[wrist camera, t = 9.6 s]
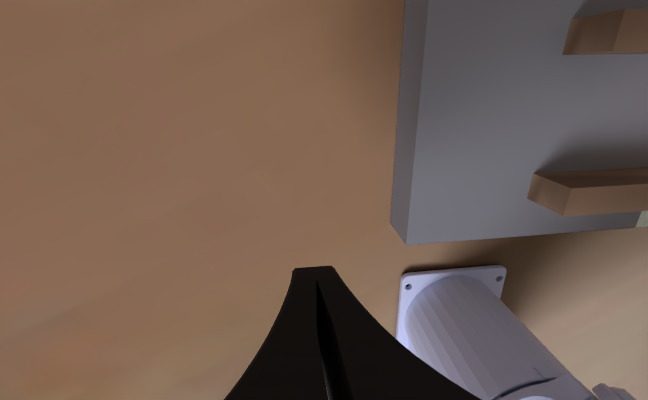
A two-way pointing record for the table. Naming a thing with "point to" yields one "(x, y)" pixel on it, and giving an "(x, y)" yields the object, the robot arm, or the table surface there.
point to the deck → (508, 117)
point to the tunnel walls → (609, 184)
